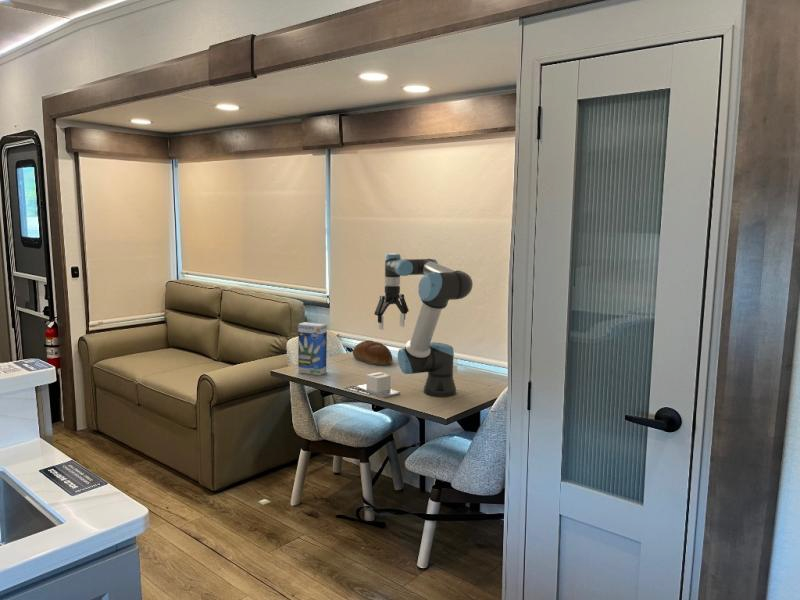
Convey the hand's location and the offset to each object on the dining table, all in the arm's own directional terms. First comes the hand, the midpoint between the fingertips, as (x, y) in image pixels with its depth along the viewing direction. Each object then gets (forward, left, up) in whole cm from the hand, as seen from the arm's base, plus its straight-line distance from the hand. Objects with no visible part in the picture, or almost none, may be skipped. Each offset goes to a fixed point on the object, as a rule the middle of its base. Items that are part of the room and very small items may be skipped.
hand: (391, 327), depth 297 cm
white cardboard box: (-11, +17, -26) cm, 33 cm away
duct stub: (-11, +17, -27) cm, 34 cm away
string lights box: (+36, +23, -27) cm, 50 cm away
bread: (+38, -18, -27) cm, 50 cm away
